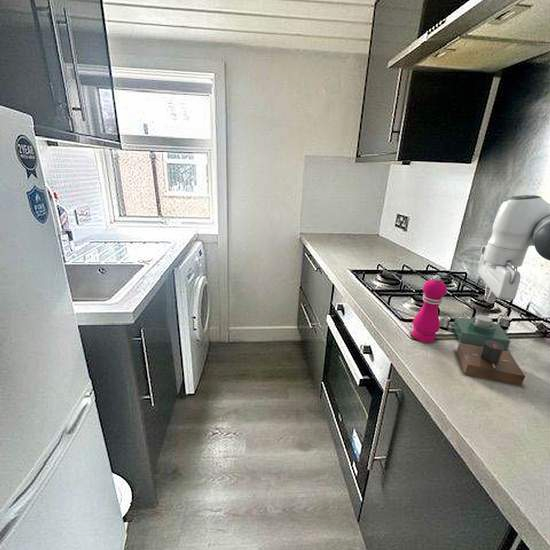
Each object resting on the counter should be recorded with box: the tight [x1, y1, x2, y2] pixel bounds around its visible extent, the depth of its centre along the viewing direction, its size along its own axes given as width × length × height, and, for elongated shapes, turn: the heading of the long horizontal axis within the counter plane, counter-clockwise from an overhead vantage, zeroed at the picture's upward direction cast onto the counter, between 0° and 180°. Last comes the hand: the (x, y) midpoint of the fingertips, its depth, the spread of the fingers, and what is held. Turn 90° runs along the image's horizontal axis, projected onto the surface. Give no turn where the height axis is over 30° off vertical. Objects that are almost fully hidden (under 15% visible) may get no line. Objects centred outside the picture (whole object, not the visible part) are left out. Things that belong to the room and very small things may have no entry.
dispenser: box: [452, 316, 511, 352], centre depth 91 cm, size 12×10×5 cm
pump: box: [475, 314, 493, 327], centre depth 90 cm, size 4×4×2 cm
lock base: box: [456, 342, 526, 387], centre depth 78 cm, size 12×10×3 cm
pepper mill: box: [411, 274, 448, 343], centre depth 87 cm, size 7×7×20 cm
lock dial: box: [481, 340, 504, 363], centre depth 76 cm, size 4×4×4 cm
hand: (488, 301), depth 88 cm, fingers closed
